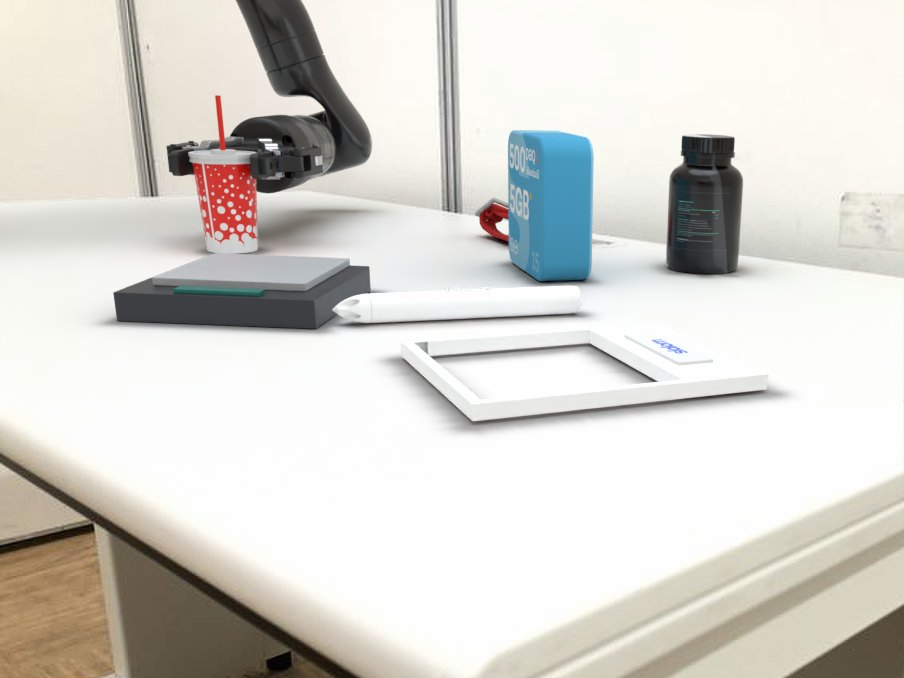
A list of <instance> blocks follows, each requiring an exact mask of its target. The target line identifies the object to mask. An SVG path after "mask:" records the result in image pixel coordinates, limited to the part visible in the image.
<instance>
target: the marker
mask: <svg viewBox="0 0 904 678" xmlns="http://www.w3.org/2000/svg"><path fill="white" fill-rule="evenodd" d="M581 299H582V297H581V291H580V288H579V286H577V285H551V286H550V285H549V286H521V287H501V288H500V287H497V288H491V287H490V286H484V287H483V285H481V287H480V288H462V286H460V288H458V287H455V286H454V287H453V289H449V288H448V287H446V288H445V289H443V290H423V291H422V290H421V291H400V292H399V291H398V292H397V291H396V292H374V293H373V292H372V293H371V292H368V293H367V294H360V295H355V296H352V297H349V298H347V299H345V300H343V301H341V302H340V303H339V304H337V305H336V306H335V307H334V308H333V309H332V310H333V311H334V312H335V313H336V315H338V316H340V317H342V318H344V319H347V320H349V321H351V322H356V323H359V324H380V323H382V324H383V323H400V322H401V323H402V322H403V323H404V322H421V321H422V322H423V321H442V320H461V319H462V320H464V319H485V318H503V317H504V318H505V317H525V316H547V315H548V316H549V315H564V314H567V315H568V314H577V313H579V312H580V310H581V306H582V301H581Z"/></svg>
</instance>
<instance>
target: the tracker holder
mask: <svg viewBox="0 0 904 678" xmlns="http://www.w3.org/2000/svg"><path fill="white" fill-rule="evenodd" d="M474 215H475V216H476V217H478V218H479V225H480V227H481V229H482V230H483V231H484V232H486V233H487V234H488V235H490V236H492V237H493V238H496V239H500V240H503V241H506V242H508V243H509V234H505V233H503V232H502V231H500V230H499V229H498V228H497V224H498V223H502V222H503V220H508V221H509V216H508V202H506V201H503V200H501V199H498V198H496V197H492V198H491V199H489V200H488V201H487V202H486V203H485V204H483V205H482V206H481V207H479V208H478V209H477V210H476V211H475V212H474Z"/></svg>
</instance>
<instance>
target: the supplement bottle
mask: <svg viewBox="0 0 904 678" xmlns="http://www.w3.org/2000/svg"><path fill="white" fill-rule="evenodd" d="M680 156H681V157H682V162H681V163H680V164H678V165H677V166H675V167H673V169H672V171H671V172H670V173H669V178H668V198H667V199H668V200H667V201H668V202H667V222H666V223H667V224H666V250H665V251H666V252H665V253H666V255H665V262H666V265H667V267H668V269H671V270H673V271H677V272H681V273H685V274H686V273H687V274H698V275H720V274H727V273H731V272H735V270H736V269H737V268H738V265H739V257H740V244H741V243H740V242H741V228H742V227H741V226H742V225H741V224H742V212H743V211H742V208H743V193H744V177H743V175H742V173H741V171H740V170H739V169H738V168H737V167H736V166H734V165H733V164H732V159H734V158H736V152H735V136H731V135H722V134H704V133H703V134H701V133H697V134H696V133H695V134H693V133H691V134H682V136H681V150H680Z"/></svg>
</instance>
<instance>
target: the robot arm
mask: <svg viewBox="0 0 904 678" xmlns="http://www.w3.org/2000/svg"><path fill="white" fill-rule="evenodd" d="M235 2H236V4H237V7H238V9H239V11H240V13H241V15H242V18H243V20H244V22H245V25H246V27H247V29H248V32H249V35H250V37H251V39H252V42H253V44H254V47H255V49H256V52H257V55H258V57H259V59H260V62H261V64H262V67H263V69H264V72H265V74H266V77H267V80H268V82H269V84H270V86H271V88H272V91H274V93H275V94H276V95H277V96H280V97H281V98H297V97H305V98H307V97H308V98H311V99H313V100H315V102H317V103H318V104H319V105H320V106H321V107H322V108H323V110H321V111H318V112H314V113H311V114H307V115H304V114H293V115H289V114H272V115H263V116H262V115H261V116H254V117H250V118H247V119H245V120H243V121H240V122H239V123H238V124H237V125H236V126H235V127H234V129H232V131H231V133H230V134H229V136H226V137H225V147H226V149H233V150H237V151H251V152H257V153H254V154H251V155H250V166H251V176H252V178H253V179H256V191H257V193H262V194H276V193H278V192H279V193H280V192H282V191H285V190H289V189H293V188H296V187H299V186H301V185H303V184H305V183H307V182H308V181H311V180H314V179H316V178H321V177H324V176H327V175H331V174H335V173H338V172H342V171H345V170H349V169H352V168H353V169H354V168H356V167H359V166H362V165H364V164H366V162H368V161H369V159H370V157H371V154H372V150H373V138H372V134H371V130H370V129H369V126H368V125H367V122H366V121H365V119H364V118H363V117H362V114H361V113H360V112H359V110H358V109H357V108H356V106H355V105H354V104H353V102H352V101H351V99H350V98H349V97H348V95H347V93H346V92H345V91H344V89H343V88H342V86H341V85H340V83H339V81H338V79H337V78H336V76H335V74H334V73H333V71H332V69H331V67H330V65H329V63H328V60H327V57H326V55H325V52H324V50H323V46H322V45H321V42H320V38H319V37H318V34H317V32H316V28H315V26H314V23H313V21H312V18H311V16H310V14H309V12H308V10H307V7H306V6H305V4H304V3H303V1H302V0H235ZM165 147H166V155H167V163H168V164H167V165H168V172H169V173H171V175H172V176H174V177H185V176H194V170H193V164H192V162H189V160H190V157H189V156H188V152H191V151H204V150H212V149H220V141H219V139H208V140H207V139H205V140H204V139H203V140H201V142H200V144H199V143H198V142H195V141H194V140H188V142H187V141H186V142H180V143H170V144H169V145H166V146H165Z"/></svg>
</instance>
